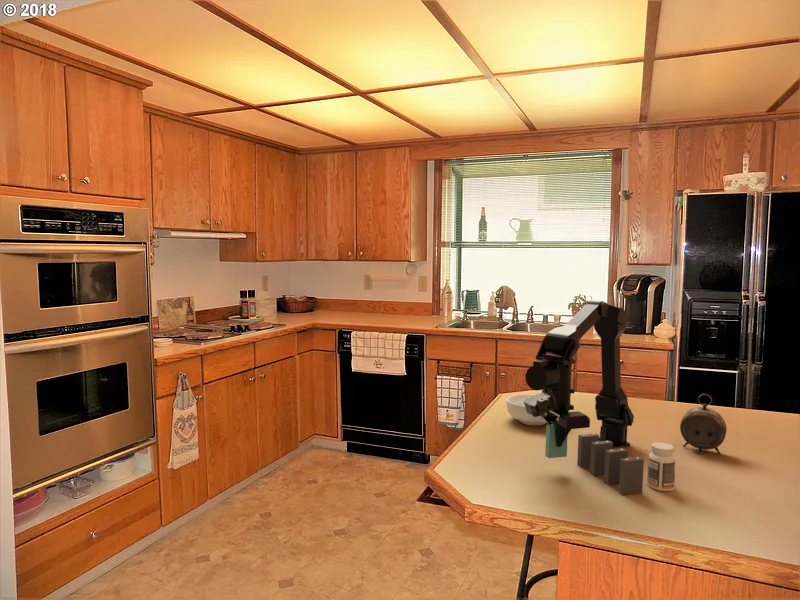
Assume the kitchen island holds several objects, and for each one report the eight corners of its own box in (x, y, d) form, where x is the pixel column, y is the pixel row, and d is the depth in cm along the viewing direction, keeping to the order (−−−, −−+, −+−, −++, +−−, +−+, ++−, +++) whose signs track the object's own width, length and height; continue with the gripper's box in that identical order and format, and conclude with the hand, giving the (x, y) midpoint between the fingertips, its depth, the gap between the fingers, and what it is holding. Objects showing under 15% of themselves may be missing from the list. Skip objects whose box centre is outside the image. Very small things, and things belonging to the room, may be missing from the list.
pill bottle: (672, 483, 131) (674, 443, 130) (675, 493, 126) (678, 451, 125) (646, 480, 133) (648, 440, 132) (648, 490, 128) (650, 448, 127)
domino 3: (607, 471, 138) (609, 439, 137) (611, 474, 136) (613, 441, 136) (590, 473, 137) (591, 441, 136) (593, 476, 135) (595, 443, 134)
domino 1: (563, 454, 139) (564, 421, 138) (566, 456, 137) (568, 423, 136) (545, 455, 137) (546, 423, 136) (548, 458, 136) (549, 425, 135)
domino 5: (637, 490, 127) (639, 455, 127) (642, 493, 126) (644, 458, 125) (618, 492, 126) (620, 457, 125) (623, 495, 125) (625, 460, 124)
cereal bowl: (566, 419, 179) (567, 398, 179) (551, 434, 165) (551, 411, 165) (516, 411, 188) (517, 390, 188) (497, 424, 174) (498, 402, 174)
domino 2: (594, 463, 143) (595, 432, 142) (598, 465, 142) (599, 434, 141) (577, 465, 142) (578, 433, 141) (580, 467, 140) (582, 435, 140)
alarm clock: (725, 453, 151) (729, 394, 149) (723, 459, 147) (727, 399, 145) (680, 444, 157) (683, 388, 156) (677, 450, 153) (680, 392, 151)
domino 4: (621, 480, 133) (623, 447, 132) (626, 483, 131) (627, 449, 130) (603, 482, 131) (605, 448, 131) (608, 485, 130) (609, 451, 129)
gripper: (511, 376, 142) (509, 435, 144) (549, 395, 124) (547, 462, 126) (549, 374, 145) (547, 432, 147) (592, 392, 127) (589, 458, 129)
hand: (556, 445), depth 137 cm, fingers closed on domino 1, 2 cm apart
